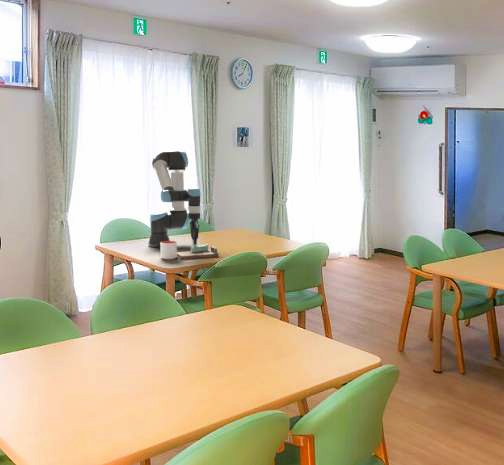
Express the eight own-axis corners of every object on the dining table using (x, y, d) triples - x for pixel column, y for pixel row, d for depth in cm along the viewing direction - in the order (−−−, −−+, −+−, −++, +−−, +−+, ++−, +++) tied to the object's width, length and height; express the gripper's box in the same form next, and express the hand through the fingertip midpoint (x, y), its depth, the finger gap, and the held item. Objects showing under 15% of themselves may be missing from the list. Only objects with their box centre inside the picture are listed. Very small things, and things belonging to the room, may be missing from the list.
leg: (206, 249, 400) (206, 243, 399) (209, 250, 398) (209, 244, 397) (190, 251, 393) (190, 246, 392) (193, 252, 390) (192, 246, 390)
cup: (173, 260, 378) (173, 243, 377) (158, 259, 380) (158, 243, 379) (179, 256, 388) (178, 241, 387) (163, 256, 390) (163, 240, 388)
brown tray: (175, 255, 393) (174, 247, 393) (211, 252, 402) (211, 244, 401) (181, 259, 380) (181, 251, 379) (218, 256, 389) (218, 248, 388)
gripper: (185, 211, 396) (186, 247, 400) (191, 214, 384) (191, 251, 388) (197, 210, 399) (197, 246, 403) (203, 213, 387) (203, 250, 391)
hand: (194, 249), depth 395 cm, fingers closed
